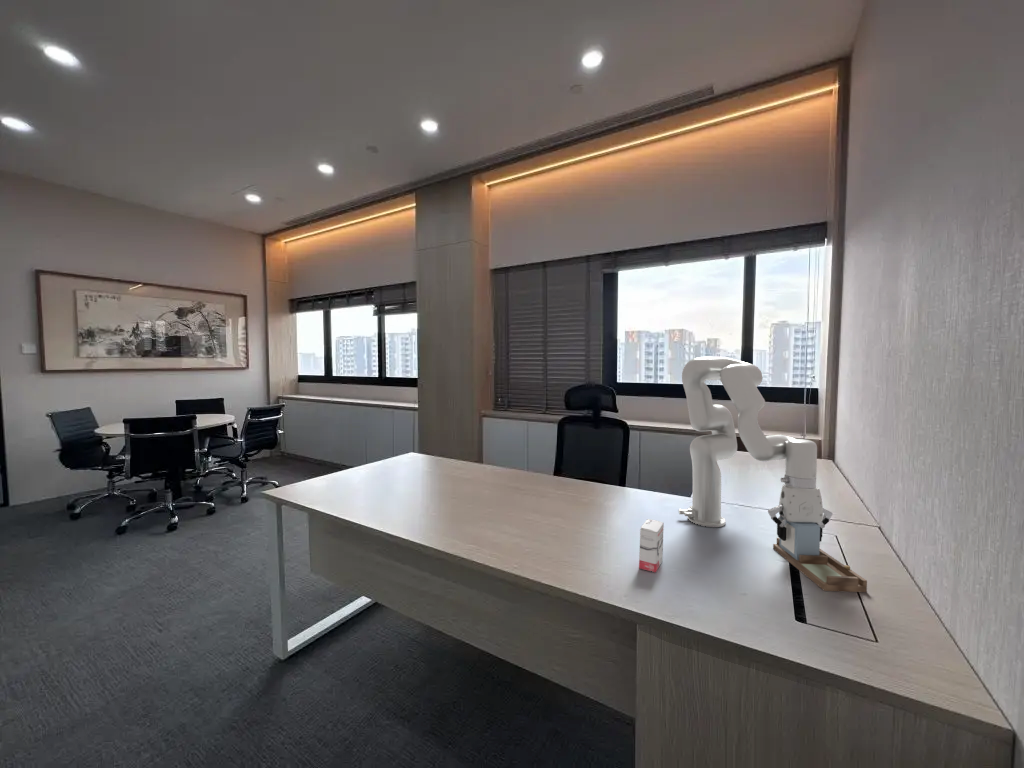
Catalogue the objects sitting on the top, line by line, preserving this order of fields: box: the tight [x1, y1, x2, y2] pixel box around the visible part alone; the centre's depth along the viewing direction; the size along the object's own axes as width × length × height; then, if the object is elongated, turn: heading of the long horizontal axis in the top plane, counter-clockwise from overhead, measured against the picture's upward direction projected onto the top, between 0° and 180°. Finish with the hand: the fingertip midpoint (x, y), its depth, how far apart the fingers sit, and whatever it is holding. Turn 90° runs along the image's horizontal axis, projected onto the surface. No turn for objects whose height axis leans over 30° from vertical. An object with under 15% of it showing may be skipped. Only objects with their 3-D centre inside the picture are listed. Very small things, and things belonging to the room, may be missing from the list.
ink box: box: [638, 519, 665, 574], centre depth 119 cm, size 9×5×12 cm, turn 148°
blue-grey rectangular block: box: [779, 522, 821, 560], centre depth 122 cm, size 6×9×10 cm
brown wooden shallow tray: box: [772, 537, 868, 593], centre depth 116 cm, size 10×24×4 cm, turn 175°
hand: (799, 539), depth 122 cm, fingers open, 9 cm apart
